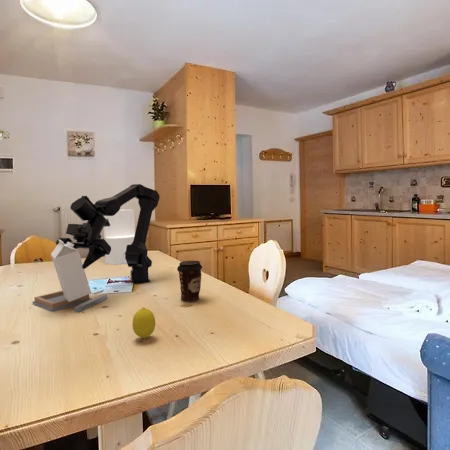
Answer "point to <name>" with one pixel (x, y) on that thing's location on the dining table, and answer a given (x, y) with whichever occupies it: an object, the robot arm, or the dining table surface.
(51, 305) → the brown and grey tray
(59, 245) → the milk carton
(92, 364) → the dining table surface
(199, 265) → the coffee cup
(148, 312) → the lemon
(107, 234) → the white tall block
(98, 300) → the steel rail
